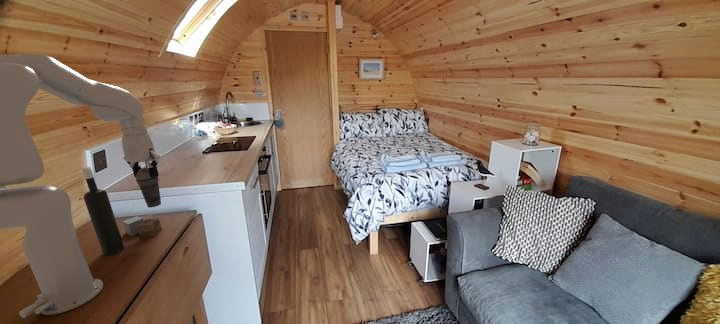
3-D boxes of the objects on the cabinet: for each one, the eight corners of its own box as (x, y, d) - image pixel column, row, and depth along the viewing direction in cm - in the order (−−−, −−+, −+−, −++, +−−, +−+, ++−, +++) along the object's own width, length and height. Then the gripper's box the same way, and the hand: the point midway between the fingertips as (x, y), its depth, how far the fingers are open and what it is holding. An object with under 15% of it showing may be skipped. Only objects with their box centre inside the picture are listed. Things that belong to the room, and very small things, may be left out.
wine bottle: (99, 253, 100) (70, 169, 92) (118, 245, 105) (92, 164, 97) (108, 257, 98) (79, 171, 89) (128, 248, 103) (101, 165, 94)
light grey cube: (132, 236, 111) (128, 224, 110) (126, 233, 114) (122, 221, 112) (146, 229, 115) (143, 218, 114) (140, 227, 118) (137, 215, 117)
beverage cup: (147, 203, 121) (134, 156, 116) (167, 200, 123) (155, 154, 118) (140, 210, 114) (126, 160, 109) (161, 206, 116) (149, 157, 111)
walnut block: (154, 236, 110) (150, 224, 108) (140, 237, 110) (136, 225, 108) (162, 230, 115) (158, 218, 113) (148, 231, 114) (145, 219, 113)
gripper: (106, 134, 109) (119, 179, 114) (145, 132, 106) (157, 179, 110) (125, 130, 116) (137, 173, 121) (162, 129, 113) (173, 173, 117)
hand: (146, 176), depth 116 cm, fingers closed on beverage cup, 6 cm apart
